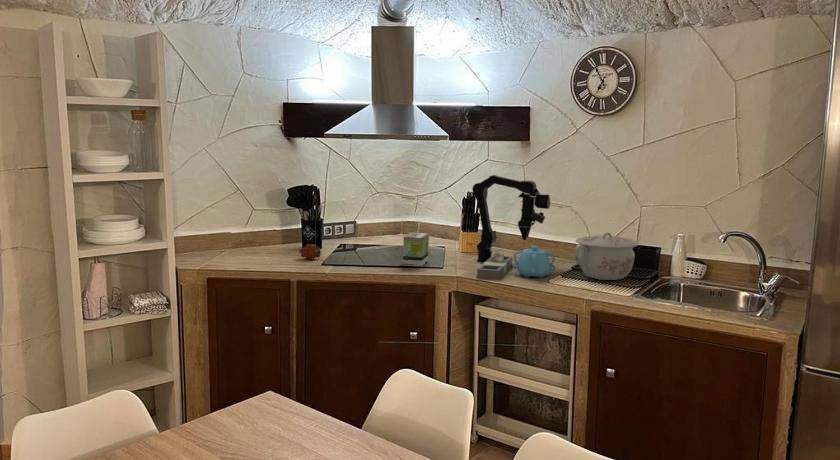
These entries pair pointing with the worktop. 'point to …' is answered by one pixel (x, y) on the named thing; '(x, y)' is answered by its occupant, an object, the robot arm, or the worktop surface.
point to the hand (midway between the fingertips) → (525, 238)
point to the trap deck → (494, 268)
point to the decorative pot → (534, 262)
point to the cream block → (497, 256)
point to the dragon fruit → (310, 251)
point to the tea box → (415, 248)
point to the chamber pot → (605, 256)
